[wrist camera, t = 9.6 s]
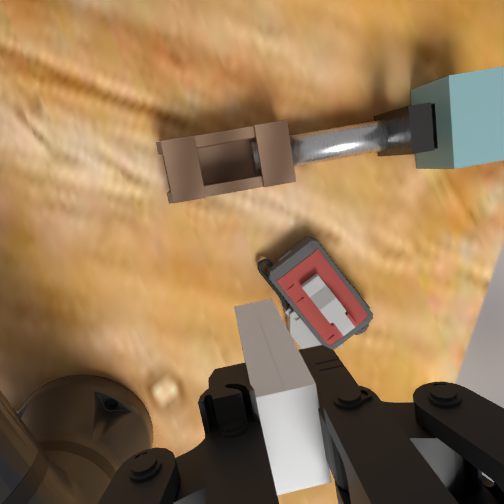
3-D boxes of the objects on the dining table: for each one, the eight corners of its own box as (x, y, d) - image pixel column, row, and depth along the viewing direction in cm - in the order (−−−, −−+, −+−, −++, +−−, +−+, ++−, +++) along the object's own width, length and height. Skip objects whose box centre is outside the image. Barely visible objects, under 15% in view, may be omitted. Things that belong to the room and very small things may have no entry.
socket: (416, 168, 44) (454, 168, 37) (410, 90, 42) (448, 75, 36) (461, 160, 44) (506, 159, 38) (456, 82, 43) (503, 66, 36)
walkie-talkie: (240, 273, 45) (343, 398, 49) (243, 284, 41) (356, 420, 45) (303, 223, 45) (402, 354, 49) (313, 229, 40) (421, 372, 45)
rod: (255, 177, 42) (264, 180, 35) (248, 137, 41) (256, 131, 34) (442, 144, 43) (489, 140, 36) (439, 105, 43) (487, 92, 35)
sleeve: (172, 200, 42) (168, 204, 38) (160, 144, 41) (154, 141, 37) (287, 179, 43) (296, 181, 39) (278, 124, 42) (287, 119, 37)
